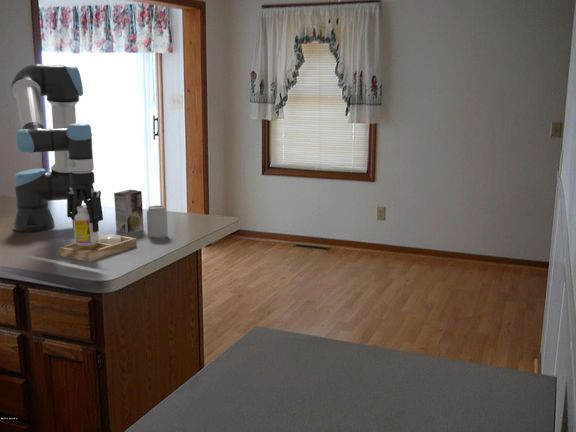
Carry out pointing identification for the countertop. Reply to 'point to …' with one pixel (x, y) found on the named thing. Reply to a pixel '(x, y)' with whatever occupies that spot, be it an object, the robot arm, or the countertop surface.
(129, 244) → the rack
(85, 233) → the supplement bottle
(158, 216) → the can
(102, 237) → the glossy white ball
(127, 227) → the coffee box
